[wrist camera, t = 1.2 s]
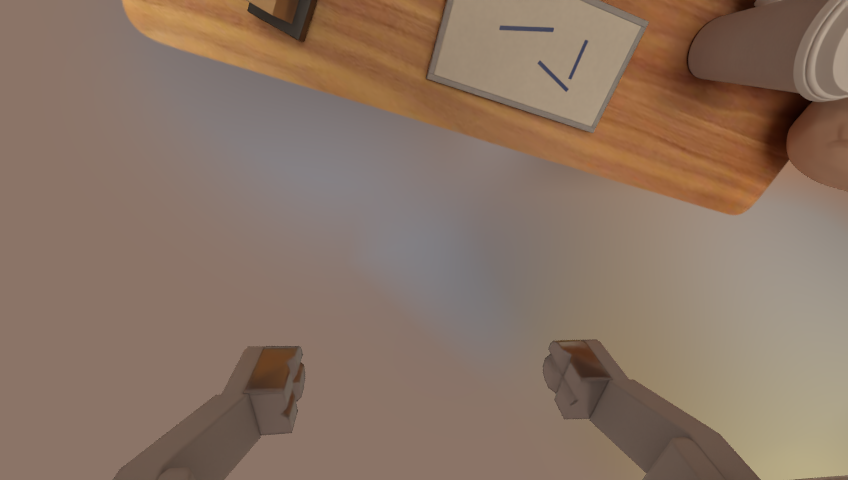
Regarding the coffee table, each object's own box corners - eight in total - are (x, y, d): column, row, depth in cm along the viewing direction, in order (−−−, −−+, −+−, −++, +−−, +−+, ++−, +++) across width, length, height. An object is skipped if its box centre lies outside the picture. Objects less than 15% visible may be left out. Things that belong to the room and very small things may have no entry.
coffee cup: (769, -8, 36) (990, -53, 23) (741, 85, 40) (911, 93, 27) (685, 6, 36) (858, -31, 23) (667, 98, 40) (802, 113, 27)
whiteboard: (425, 78, 37) (426, 78, 36) (460, -55, 32) (463, -59, 31) (588, 131, 41) (593, 133, 40) (641, 23, 36) (649, 21, 35)
